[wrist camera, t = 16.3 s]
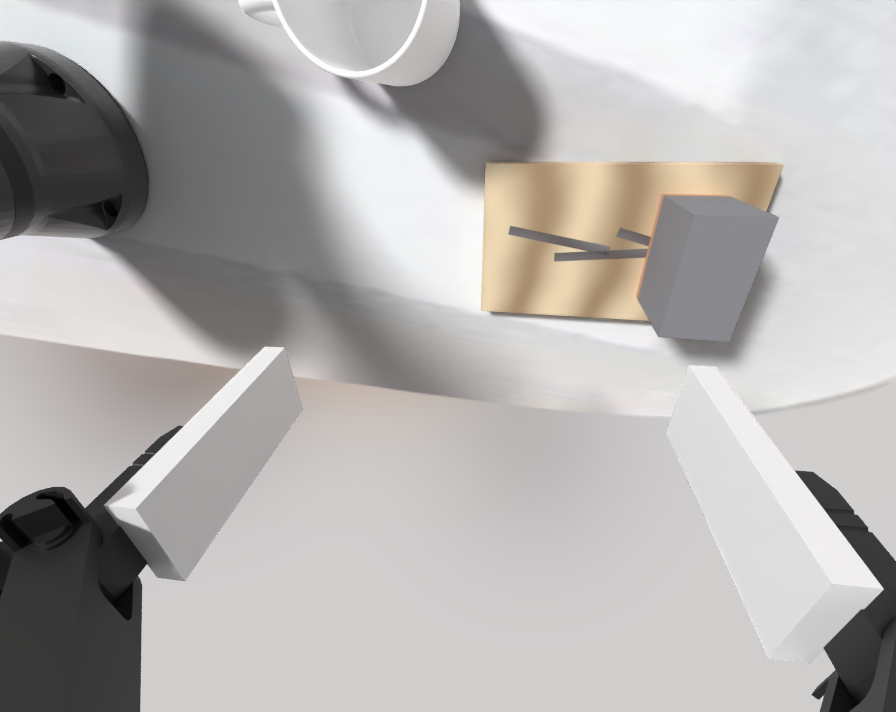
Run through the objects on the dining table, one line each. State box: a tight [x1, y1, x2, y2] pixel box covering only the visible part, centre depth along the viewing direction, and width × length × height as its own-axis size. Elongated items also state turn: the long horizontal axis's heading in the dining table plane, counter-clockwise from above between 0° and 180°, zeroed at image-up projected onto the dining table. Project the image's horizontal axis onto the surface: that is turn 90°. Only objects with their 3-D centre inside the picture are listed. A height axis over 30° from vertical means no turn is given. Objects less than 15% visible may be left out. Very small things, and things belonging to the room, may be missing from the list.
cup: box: [238, 0, 460, 86], centre depth 24 cm, size 8×12×10 cm
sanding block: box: [636, 194, 779, 342], centre depth 28 cm, size 4×8×7 cm, turn 1°
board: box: [481, 162, 784, 321], centre depth 32 cm, size 20×12×2 cm, turn 91°
